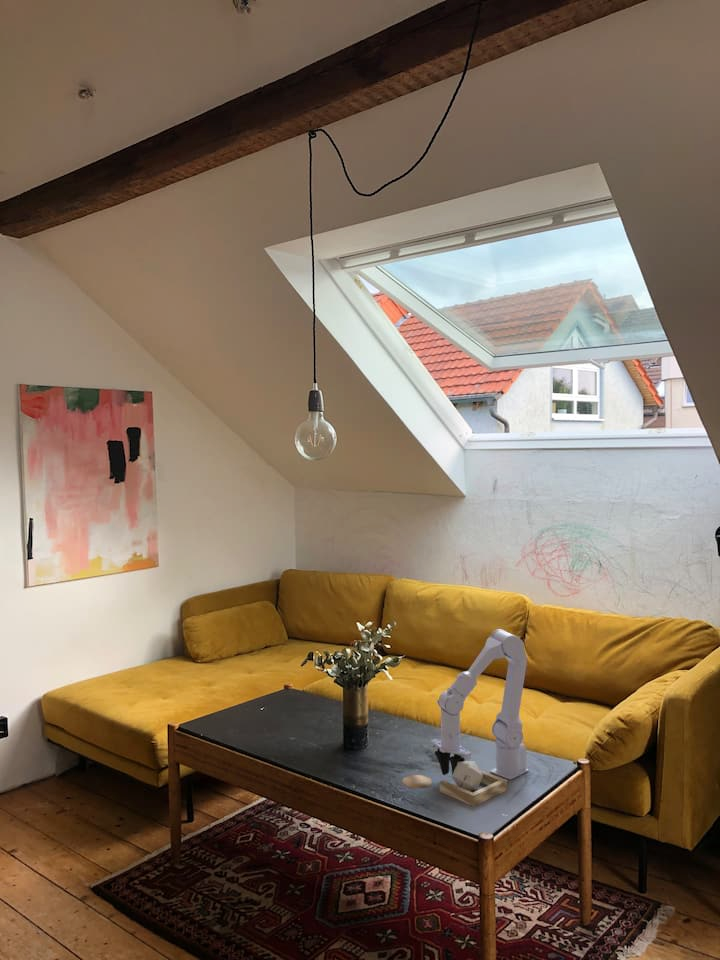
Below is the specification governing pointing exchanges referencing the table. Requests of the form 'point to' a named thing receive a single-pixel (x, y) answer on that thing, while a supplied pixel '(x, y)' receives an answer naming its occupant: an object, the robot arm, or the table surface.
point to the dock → (477, 797)
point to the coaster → (417, 781)
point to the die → (467, 775)
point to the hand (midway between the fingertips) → (450, 776)
